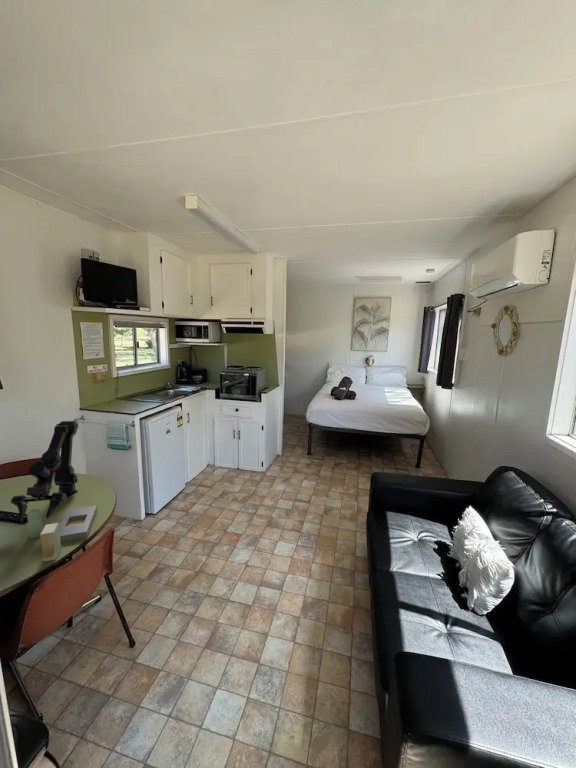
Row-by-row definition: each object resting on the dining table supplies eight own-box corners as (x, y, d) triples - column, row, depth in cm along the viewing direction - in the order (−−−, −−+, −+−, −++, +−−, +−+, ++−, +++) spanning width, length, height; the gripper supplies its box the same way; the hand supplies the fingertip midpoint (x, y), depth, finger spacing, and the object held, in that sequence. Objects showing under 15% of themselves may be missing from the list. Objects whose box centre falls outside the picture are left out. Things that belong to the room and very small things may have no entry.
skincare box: (48, 550, 122) (45, 523, 120) (61, 548, 124) (59, 521, 122) (42, 562, 116) (39, 534, 114) (56, 560, 118) (53, 532, 116)
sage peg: (37, 530, 133) (35, 505, 131) (45, 532, 132) (43, 507, 130) (26, 537, 129) (23, 511, 127) (35, 539, 128) (32, 513, 126)
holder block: (67, 515, 145) (67, 509, 144) (97, 511, 149) (96, 505, 148) (53, 543, 126) (52, 537, 126) (87, 537, 131) (86, 531, 130)
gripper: (10, 479, 128) (-3, 518, 120) (62, 475, 133) (52, 512, 125) (22, 486, 137) (10, 523, 129) (70, 483, 142) (62, 518, 134)
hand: (34, 519), depth 129 cm, fingers open, 9 cm apart
